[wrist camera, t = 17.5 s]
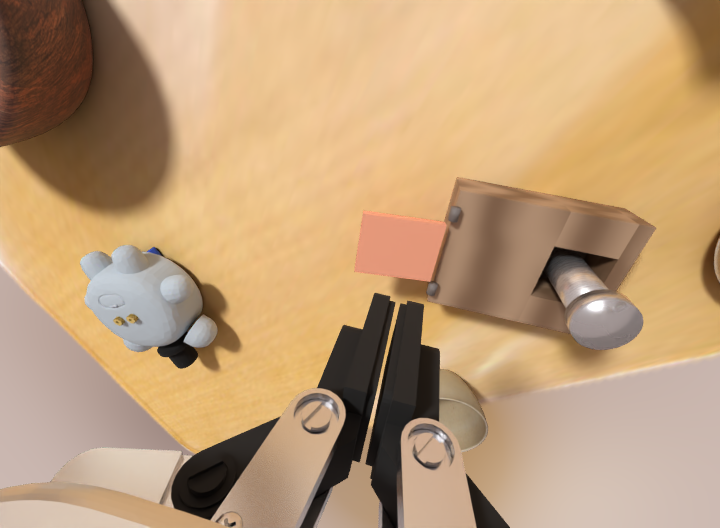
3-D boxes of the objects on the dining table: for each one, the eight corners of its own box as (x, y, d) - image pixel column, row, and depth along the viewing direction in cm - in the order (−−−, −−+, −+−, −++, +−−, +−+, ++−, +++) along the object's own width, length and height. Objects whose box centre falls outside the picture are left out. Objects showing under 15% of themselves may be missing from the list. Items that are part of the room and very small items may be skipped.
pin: (589, 239, 33) (656, 307, 23) (570, 278, 35) (623, 355, 25) (541, 232, 33) (586, 295, 23) (525, 270, 35) (560, 342, 26)
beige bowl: (441, 416, 49) (443, 463, 43) (393, 377, 47) (386, 420, 41) (496, 386, 44) (506, 435, 38) (444, 343, 43) (446, 386, 36)
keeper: (444, 222, 30) (446, 225, 29) (428, 277, 33) (430, 281, 32) (363, 210, 29) (363, 213, 29) (354, 267, 32) (354, 271, 32)
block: (625, 208, 31) (664, 232, 26) (568, 308, 37) (590, 344, 32) (452, 176, 33) (456, 192, 27) (424, 276, 39) (422, 305, 33)
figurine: (85, 243, 47) (164, 341, 57) (25, 278, 40) (127, 383, 50) (180, 222, 42) (249, 334, 52) (131, 258, 35) (221, 379, 45)
